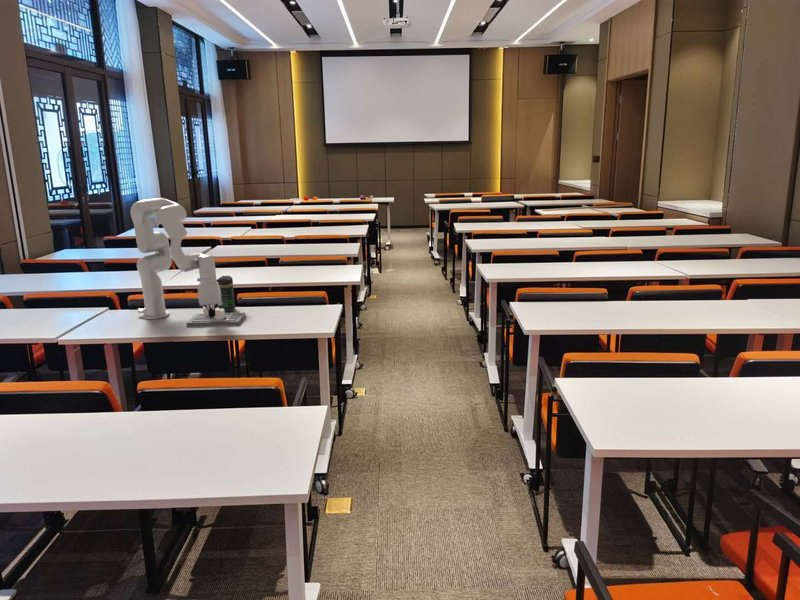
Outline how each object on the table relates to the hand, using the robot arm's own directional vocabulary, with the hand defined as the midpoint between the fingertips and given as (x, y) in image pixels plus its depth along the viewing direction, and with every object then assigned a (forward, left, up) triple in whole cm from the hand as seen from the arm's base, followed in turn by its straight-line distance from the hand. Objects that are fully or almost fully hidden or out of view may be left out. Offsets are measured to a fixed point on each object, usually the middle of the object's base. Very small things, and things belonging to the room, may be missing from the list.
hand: (212, 316), depth 287 cm
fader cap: (+4, 0, -1) cm, 4 cm away
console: (+1, +4, -4) cm, 5 cm away
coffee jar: (+1, +22, -4) cm, 22 cm away
